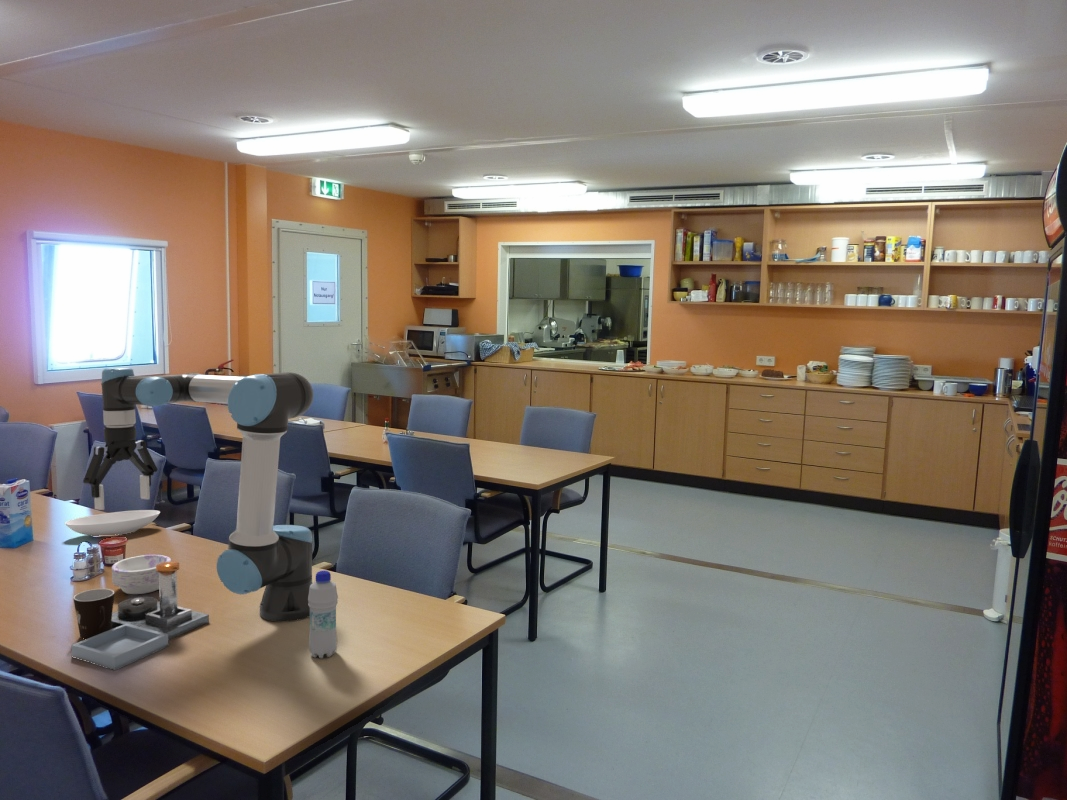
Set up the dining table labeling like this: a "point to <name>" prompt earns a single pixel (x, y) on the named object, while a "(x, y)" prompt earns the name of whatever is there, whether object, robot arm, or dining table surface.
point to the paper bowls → (138, 573)
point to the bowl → (113, 522)
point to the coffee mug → (94, 611)
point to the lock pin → (168, 588)
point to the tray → (120, 646)
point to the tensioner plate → (156, 617)
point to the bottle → (322, 615)
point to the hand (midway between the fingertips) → (123, 504)
